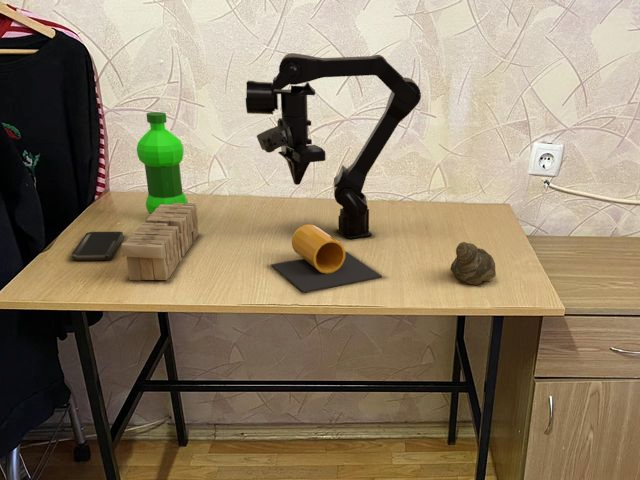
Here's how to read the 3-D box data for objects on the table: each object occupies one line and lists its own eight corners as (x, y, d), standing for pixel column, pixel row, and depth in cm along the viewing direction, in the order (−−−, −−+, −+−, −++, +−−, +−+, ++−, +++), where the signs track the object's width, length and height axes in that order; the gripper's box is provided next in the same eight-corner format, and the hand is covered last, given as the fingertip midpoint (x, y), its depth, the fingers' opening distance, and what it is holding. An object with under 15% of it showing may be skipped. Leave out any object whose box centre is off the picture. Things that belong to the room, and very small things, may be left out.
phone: (70, 255, 149) (87, 231, 162) (71, 260, 149) (88, 236, 162) (110, 255, 150) (124, 231, 163) (111, 260, 151) (125, 236, 164)
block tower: (166, 237, 167) (124, 282, 141) (161, 202, 164) (118, 241, 137) (200, 238, 168) (165, 284, 142) (197, 203, 164) (160, 243, 138)
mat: (345, 253, 163) (345, 251, 163) (381, 277, 151) (381, 275, 151) (271, 266, 153) (271, 264, 153) (303, 293, 142) (303, 291, 142)
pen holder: (322, 222, 157) (345, 237, 149) (322, 253, 161) (345, 270, 153) (291, 226, 153) (313, 242, 146) (292, 258, 157) (314, 276, 149)
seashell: (433, 243, 154) (445, 259, 145) (479, 213, 153) (494, 228, 145) (458, 283, 160) (471, 301, 151) (502, 255, 159) (518, 271, 150)
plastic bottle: (144, 226, 171) (129, 117, 159) (149, 212, 180) (135, 109, 168) (189, 225, 173) (177, 118, 161) (191, 211, 182) (180, 109, 170)
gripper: (244, 109, 162) (248, 177, 169) (277, 125, 149) (281, 199, 156) (290, 106, 168) (292, 173, 175) (326, 122, 154) (327, 193, 162)
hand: (297, 184), depth 167 cm, fingers closed
